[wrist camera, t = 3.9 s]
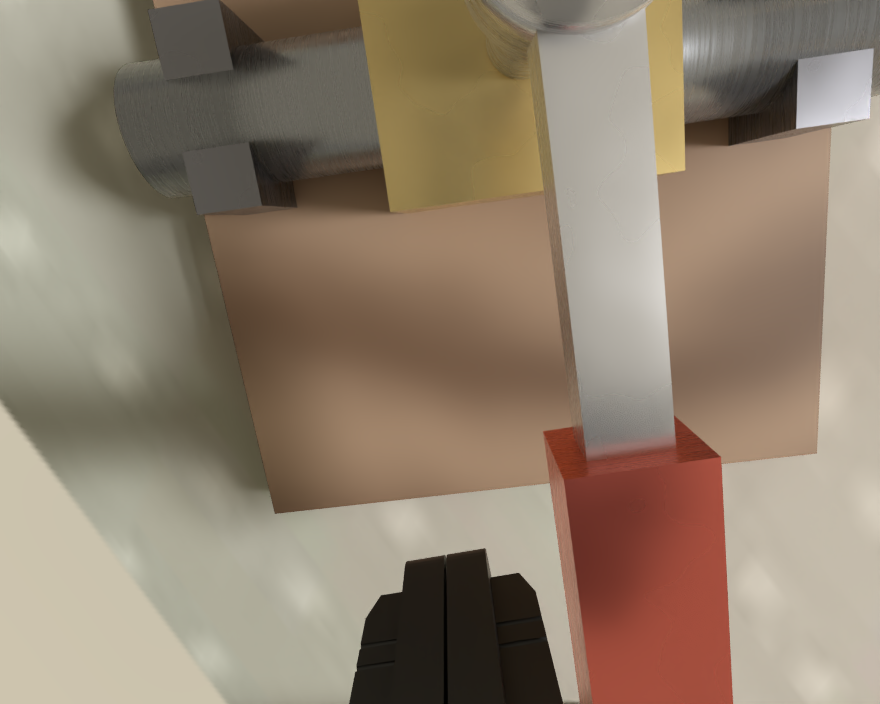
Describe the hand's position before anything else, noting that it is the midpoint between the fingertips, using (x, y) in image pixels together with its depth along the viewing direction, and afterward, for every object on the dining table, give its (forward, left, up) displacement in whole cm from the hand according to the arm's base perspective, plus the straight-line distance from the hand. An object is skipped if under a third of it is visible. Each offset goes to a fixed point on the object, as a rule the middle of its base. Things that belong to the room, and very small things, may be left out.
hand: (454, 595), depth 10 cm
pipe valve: (-10, +3, -9) cm, 14 cm away
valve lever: (-4, +3, 0) cm, 5 cm away
